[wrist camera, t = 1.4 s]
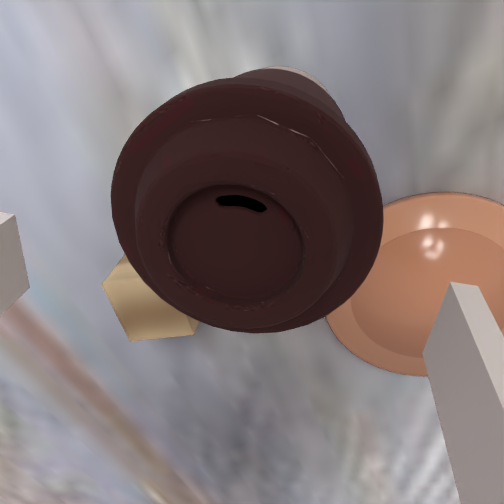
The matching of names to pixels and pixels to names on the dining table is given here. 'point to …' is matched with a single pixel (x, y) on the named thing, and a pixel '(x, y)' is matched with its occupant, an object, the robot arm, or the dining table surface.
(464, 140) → the dining table surface
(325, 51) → the dining table surface
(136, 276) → the tan cube
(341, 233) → the coffee cup
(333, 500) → the dining table surface
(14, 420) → the dining table surface
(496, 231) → the saucer
